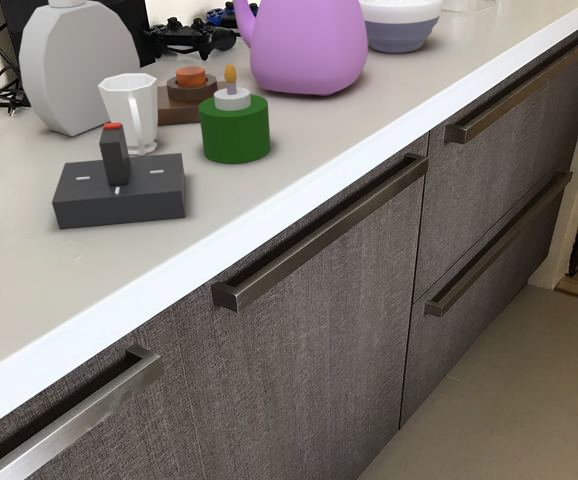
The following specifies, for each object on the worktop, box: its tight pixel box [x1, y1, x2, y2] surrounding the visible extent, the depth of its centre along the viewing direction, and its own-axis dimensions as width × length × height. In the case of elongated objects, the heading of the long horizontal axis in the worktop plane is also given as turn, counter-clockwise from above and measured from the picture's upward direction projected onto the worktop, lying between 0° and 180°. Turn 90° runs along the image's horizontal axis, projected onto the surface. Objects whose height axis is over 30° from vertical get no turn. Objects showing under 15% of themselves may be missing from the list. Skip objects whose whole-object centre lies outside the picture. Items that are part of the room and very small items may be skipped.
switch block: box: [157, 73, 227, 127], centre depth 93 cm, size 12×10×4 cm
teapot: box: [231, 0, 369, 97], centre depth 99 cm, size 23×21×15 cm
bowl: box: [359, 0, 444, 54], centre depth 112 cm, size 14×14×8 cm
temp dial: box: [98, 122, 131, 186], centre depth 69 cm, size 5×2×5 cm, turn 7°
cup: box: [98, 72, 158, 157], centre depth 81 cm, size 7×10×8 cm
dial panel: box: [51, 152, 186, 230], centre depth 72 cm, size 13×10×3 cm
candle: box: [198, 63, 271, 165], centre depth 79 cm, size 8×8×10 cm
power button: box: [175, 65, 206, 86], centre depth 91 cm, size 4×4×2 cm
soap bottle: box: [18, 0, 141, 137], centre depth 86 cm, size 16×5×20 cm, turn 142°
